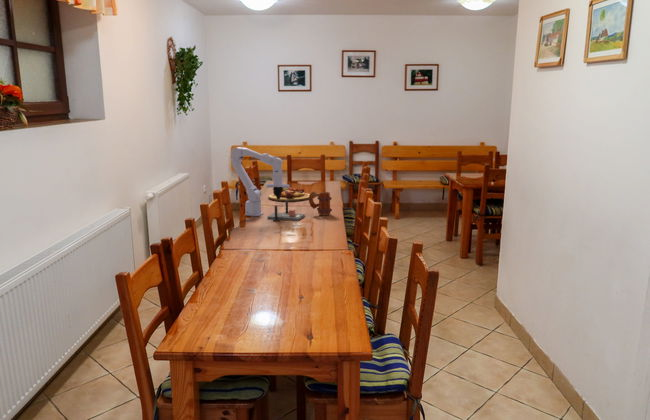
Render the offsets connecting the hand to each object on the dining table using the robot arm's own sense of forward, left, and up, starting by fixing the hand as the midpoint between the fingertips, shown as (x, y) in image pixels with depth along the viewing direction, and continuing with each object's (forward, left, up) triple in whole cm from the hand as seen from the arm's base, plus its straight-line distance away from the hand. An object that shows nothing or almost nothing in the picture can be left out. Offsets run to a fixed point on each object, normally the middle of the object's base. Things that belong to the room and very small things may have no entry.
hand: (278, 199), depth 318 cm
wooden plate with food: (-14, +57, -11) cm, 60 cm away
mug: (+25, +8, -11) cm, 28 cm away
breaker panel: (+7, -5, -10) cm, 13 cm away
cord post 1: (+4, -14, -10) cm, 18 cm away
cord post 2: (+4, +4, -10) cm, 12 cm away
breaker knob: (+11, -5, -9) cm, 15 cm away
